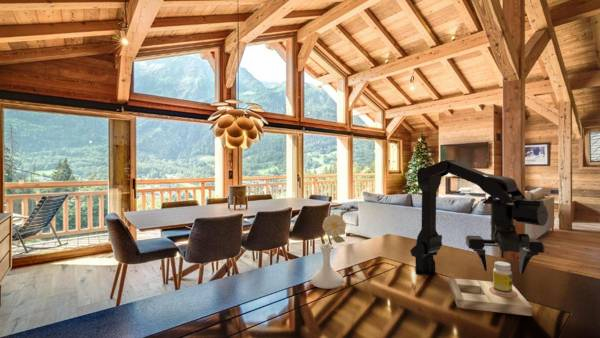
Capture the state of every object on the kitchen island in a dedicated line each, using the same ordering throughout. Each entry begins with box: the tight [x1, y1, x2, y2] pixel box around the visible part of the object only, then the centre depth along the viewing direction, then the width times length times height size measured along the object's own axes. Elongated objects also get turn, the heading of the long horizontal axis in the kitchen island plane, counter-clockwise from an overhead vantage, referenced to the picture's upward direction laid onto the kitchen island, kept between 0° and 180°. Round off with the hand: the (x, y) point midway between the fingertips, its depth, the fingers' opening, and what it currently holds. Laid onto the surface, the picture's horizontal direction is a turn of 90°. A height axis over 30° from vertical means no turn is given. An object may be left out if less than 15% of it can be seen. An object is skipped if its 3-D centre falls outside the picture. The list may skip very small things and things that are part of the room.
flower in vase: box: [310, 213, 347, 290], centre depth 104 cm, size 13×11×25 cm
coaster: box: [489, 287, 518, 298], centre depth 90 cm, size 7×7×1 cm
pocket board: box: [448, 277, 533, 317], centre depth 91 cm, size 18×16×2 cm
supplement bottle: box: [492, 260, 513, 294], centre depth 90 cm, size 5×5×8 cm
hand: (503, 272), depth 90 cm, fingers open, 9 cm apart
